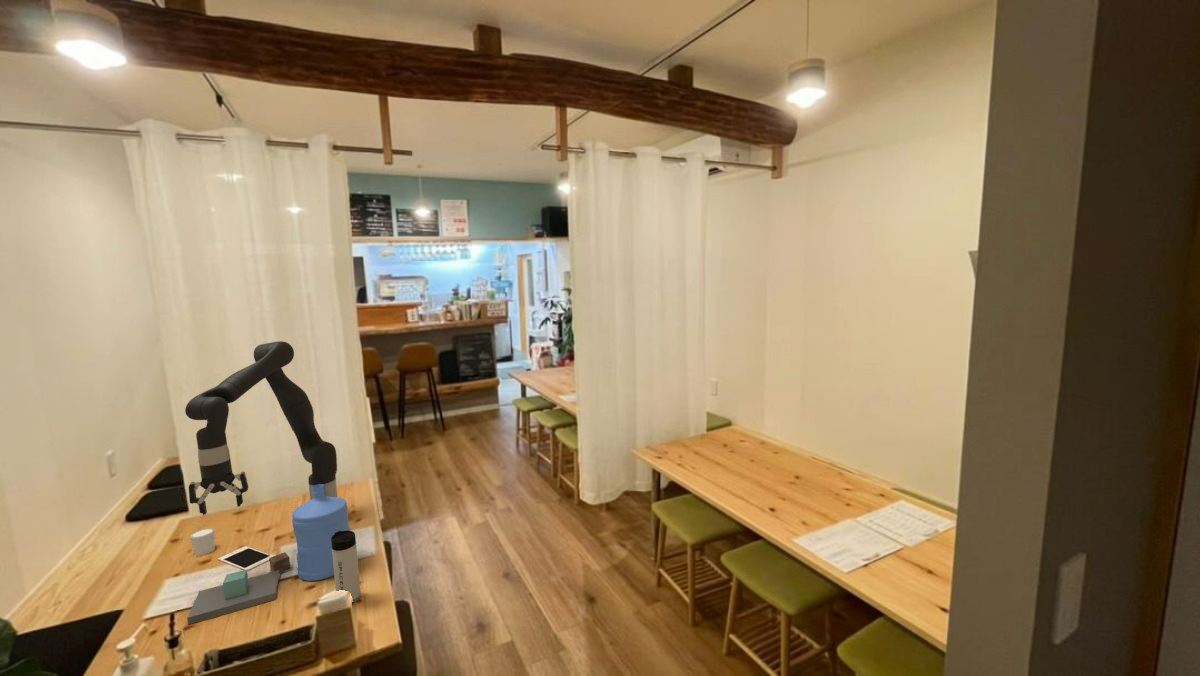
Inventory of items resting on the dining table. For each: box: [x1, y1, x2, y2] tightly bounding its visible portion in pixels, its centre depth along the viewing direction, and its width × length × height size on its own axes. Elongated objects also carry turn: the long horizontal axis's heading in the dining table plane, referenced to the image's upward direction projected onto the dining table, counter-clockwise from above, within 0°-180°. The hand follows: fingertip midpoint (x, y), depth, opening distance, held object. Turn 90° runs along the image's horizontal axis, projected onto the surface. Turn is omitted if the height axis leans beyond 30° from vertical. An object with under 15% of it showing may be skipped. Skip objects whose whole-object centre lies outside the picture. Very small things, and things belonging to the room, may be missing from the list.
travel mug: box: [331, 530, 362, 603], centre depth 139 cm, size 6×7×20 cm
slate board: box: [186, 570, 280, 625], centre depth 142 cm, size 20×14×2 cm
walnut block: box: [268, 552, 291, 575], centre depth 156 cm, size 4×4×4 cm
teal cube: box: [222, 570, 249, 599], centre depth 142 cm, size 5×5×5 cm
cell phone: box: [217, 545, 274, 572], centre depth 164 cm, size 9×18×1 cm, turn 64°
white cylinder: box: [189, 527, 216, 557], centre depth 170 cm, size 7×7×7 cm
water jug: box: [291, 484, 351, 582], centre depth 156 cm, size 16×16×28 cm
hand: (222, 509), depth 149 cm, fingers open, 8 cm apart
